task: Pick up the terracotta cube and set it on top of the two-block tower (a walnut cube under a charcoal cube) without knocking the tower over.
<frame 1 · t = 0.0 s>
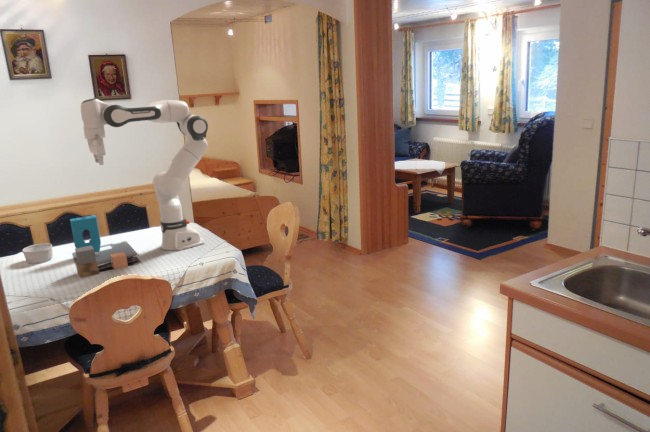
hand: (99, 163, 243), 48 cm above the table, fingers open, 8 cm apart
ramekin: (39, 260, 259), on the table
terracotta cube: (120, 266, 245), on the table
block: (89, 256, 262), on the table
tower base: (88, 273, 237), on the table, touching tower top
tower top: (86, 261, 236), point 6 cm above the table, touching tower base
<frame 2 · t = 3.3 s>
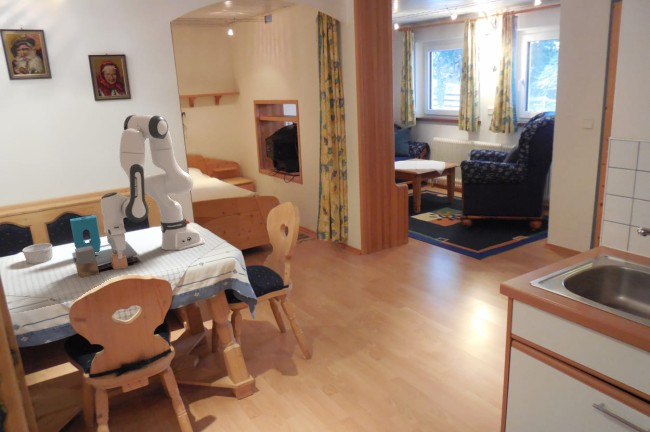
hand: (117, 256, 242), 6 cm above the table, fingers open, 8 cm apart
terracotta cube: (120, 267, 244), on the table, touching gripper
everything else where it was.
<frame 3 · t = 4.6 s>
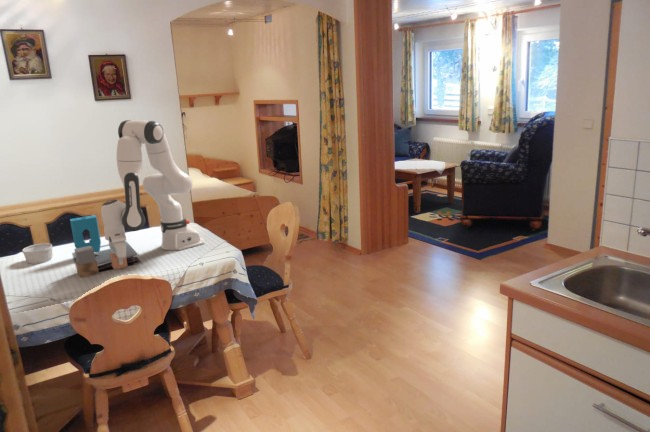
hand: (119, 262, 244), 2 cm above the table, fingers closed on terracotta cube, 6 cm apart
terracotta cube: (119, 266, 244), on the table, touching gripper
everything else where it was.
when the fingers open (16 cm above the table, at t = 13.1 s): terracotta cube drops 2 cm, resting on tower top.
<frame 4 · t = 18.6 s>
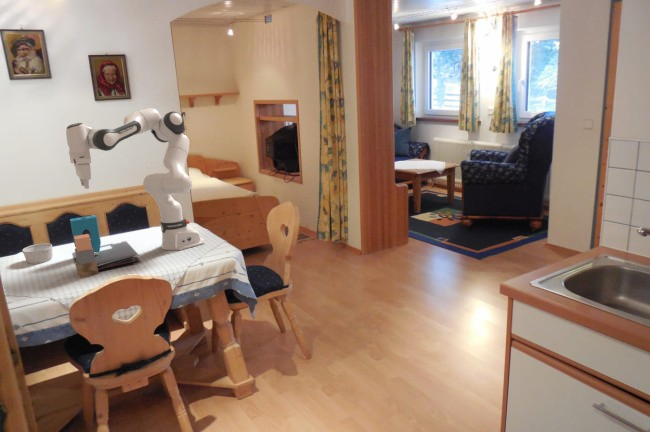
hand: (85, 187, 246), 37 cm above the table, fingers open, 8 cm apart
terracotta cube: (84, 248, 234), point 12 cm above the table, touching tower top
tower top: (86, 261, 236), point 6 cm above the table, touching terracotta cube, tower base
everything else where it was.
at the end: terracotta cube 0.1 cm off-centre on the tower top, point 6.0 cm above the tower top's base; terracotta cube tilted 0°; tower top 0.2 cm off-centre on the tower base, point 6.0 cm above the tower base's base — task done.
